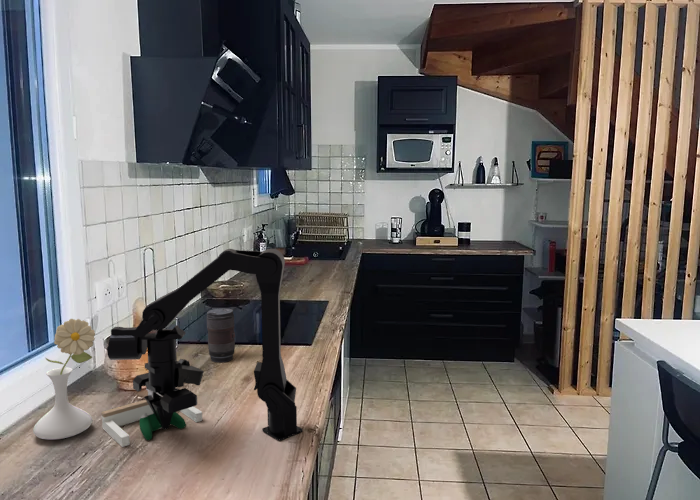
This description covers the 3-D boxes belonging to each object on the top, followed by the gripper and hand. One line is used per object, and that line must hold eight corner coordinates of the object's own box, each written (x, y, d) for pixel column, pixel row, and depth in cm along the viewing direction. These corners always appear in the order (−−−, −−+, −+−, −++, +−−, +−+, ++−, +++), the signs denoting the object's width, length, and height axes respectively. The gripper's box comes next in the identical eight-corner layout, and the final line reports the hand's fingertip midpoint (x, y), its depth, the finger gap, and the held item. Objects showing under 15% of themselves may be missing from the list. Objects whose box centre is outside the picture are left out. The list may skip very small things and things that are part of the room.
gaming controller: (182, 432, 121) (172, 409, 124) (188, 424, 119) (177, 401, 122) (142, 446, 115) (132, 421, 117) (147, 438, 113) (137, 413, 115)
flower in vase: (30, 449, 110) (20, 330, 107) (37, 426, 120) (28, 316, 117) (100, 437, 115) (93, 323, 112) (101, 416, 125) (94, 310, 122)
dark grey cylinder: (221, 353, 171) (219, 306, 169) (240, 357, 167) (239, 309, 165) (202, 360, 164) (200, 312, 162) (222, 365, 160) (220, 315, 158)
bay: (202, 420, 123) (201, 404, 123) (122, 446, 111) (121, 429, 110) (179, 405, 131) (178, 390, 131) (102, 428, 119) (101, 411, 119)
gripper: (219, 360, 113) (221, 431, 115) (177, 341, 126) (180, 405, 128) (168, 373, 105) (171, 449, 107) (130, 351, 119) (133, 419, 121)
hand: (165, 428), depth 116 cm, fingers closed, pressing on gaming controller
